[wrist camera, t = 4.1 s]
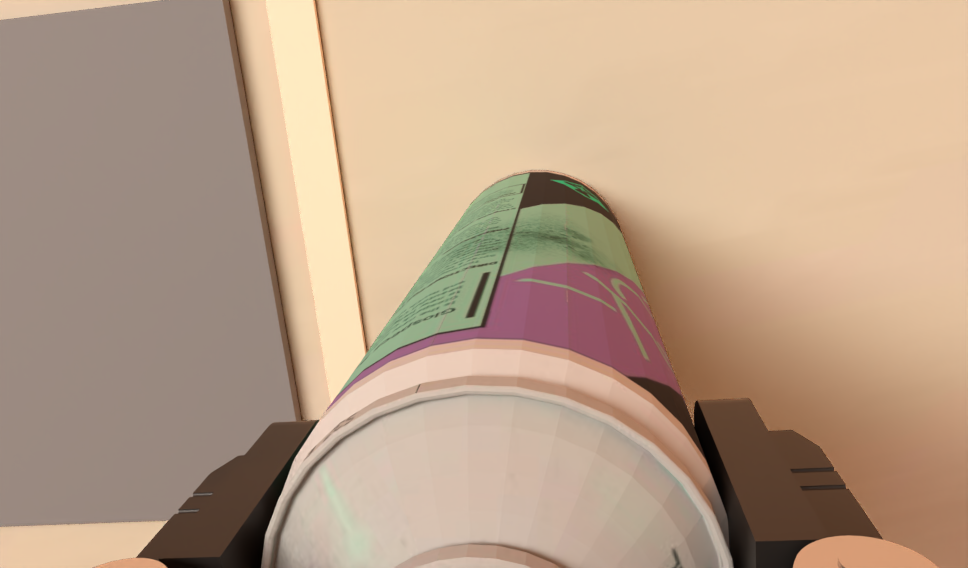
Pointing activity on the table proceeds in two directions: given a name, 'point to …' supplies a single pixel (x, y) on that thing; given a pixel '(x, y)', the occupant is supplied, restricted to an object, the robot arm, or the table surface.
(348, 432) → the spray can
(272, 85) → the table surface
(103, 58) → the gray flat panel
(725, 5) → the table surface
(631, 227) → the table surface
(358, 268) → the table surface
